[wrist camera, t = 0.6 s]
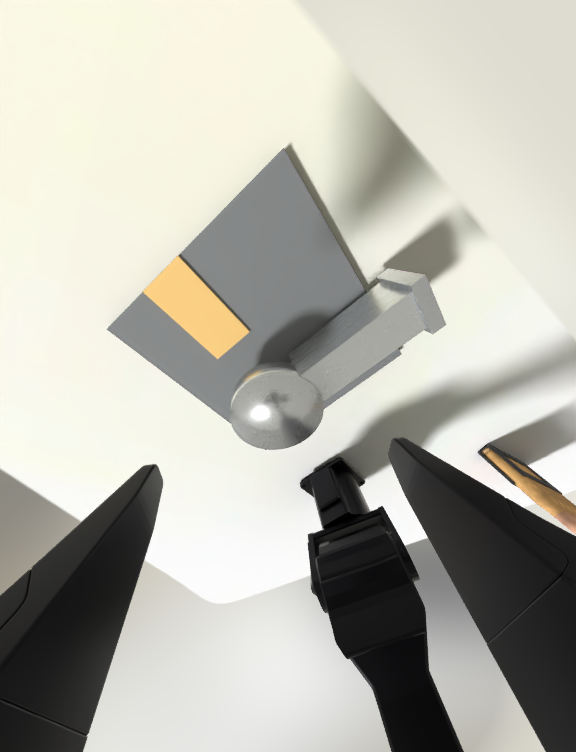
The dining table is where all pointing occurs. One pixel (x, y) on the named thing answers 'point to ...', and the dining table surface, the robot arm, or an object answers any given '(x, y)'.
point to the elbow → (331, 361)
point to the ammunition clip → (532, 485)
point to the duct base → (245, 291)
